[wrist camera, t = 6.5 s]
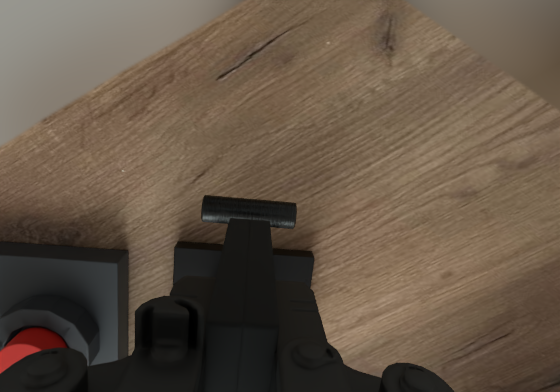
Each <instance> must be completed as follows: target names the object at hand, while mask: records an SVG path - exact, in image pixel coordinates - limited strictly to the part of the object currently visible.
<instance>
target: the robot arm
mask: <svg viewBox="0 0 560 392" xmlns="http://www.w3.org/2000/svg"><path fill="white" fill-rule="evenodd" d="M318 311H319V310H318V307H317V304H316V300H315V296H314V292H313V291H312V290H311V289H310V288H309V287H308V286H307V285H306V284H305V283H304V282H294V281H279V280H275V272H274V261H273V251H272V240H271V229H270V221H263V220H251V219H239V218H230V219H229V223H228V228H227V232H226V236H225V241H224V245H223V249H222V253H221V258H220V262H219V266H218V271H217V275H216V277H201V276H186V275H185V276H184V277H183V278H181V279H180V280H179V281H177V282H176V283H175V284H174V286H173V288H172V290H171V292H170V296H163V297H159V298H155V299H151V300H149V301H147V302H145V303H143V304H142V305H141V306H140V307H139V308H138V309H137V310H136V311H135V349H134V351H133V353H132V355H130V356H128V357H126V358H123V359H120V360H116V361H112V362H108V363H102V364H96V365H91V366H88V364H87V359H86V357H85V356H84V354H83V353H82V352H80V351H77V350H75V349H73V348H61V347H58V348H51V349H45V350H41V351H38V352H35V353H33V354H30V355H27V356H25V357H24V358H22V359H20V360H19V361H17V362H15V363H14V364H12V365H11V366H10V367H8V368H7V369H6V370H4V371H3V372H2V373H1V374H0V392H454V391H453V390H452V388H451V387H450V386H449V385H448V384H447V383H446V382H445V381H444V380H442V379H441V378H440V377H439V376H437V375H436V374H435V373H433V372H431V371H429V370H428V369H426V368H424V367H422V366H418V365H414V364H411V363H395V364H392V365H389V366H388V367H387V368H386V369H385V370H384V371H383V374H382V378H380V377H376V376H373V375H369V374H366V373H362V372H359V371H357V370H354V369H352V368H350V367H348V366H346V365H345V364H343V360H342V358H341V356H340V354H339V353H338V351H337V350H336V349H335V348H334V347H333V346H331V345H330V344H329V343H328V342H327V339H326V335H325V332H324V328H323V324H322V321H321V317H320V314H319V313H318Z"/></svg>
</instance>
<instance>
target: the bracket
mask: <svg viewBox="0 0 560 392" xmlns="http://www.w3.org/2000/svg"><path fill="white" fill-rule="evenodd" d="M222 249H223V245H220V244H206V243H193V242H179V241H178V242H177V244H176V246H175V248H174V275H173V286H174V284H175V283H176V282H177V281H179V280H180V279H181V278H183V277H184V276H185V275H186V276H201V277H216V275H217V271H218V266H219V262H220V258H221V253H222ZM272 251H273V261H274V272H275V280H279V281H294V282H304V283H305V284H306V285H307V286H308V287H309V288H310V287H311V280H312V272H313V265H314V255H313V253H312V251H300V250H287V249H273V248H272Z"/></svg>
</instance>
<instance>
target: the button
mask: <svg viewBox="0 0 560 392" xmlns="http://www.w3.org/2000/svg"><path fill="white" fill-rule="evenodd" d="M58 347H61V348H67V345H66V343H65V342H64V340H63V339H62V338H61V337H60V336H59V335H58V334H57V333H55V332H53V331H51V330H49V329H46V328H40V327H33V328H28V329H25V330H23V331H21V332H20V333H18V334H17V335H16V336H15V337H14V338H13V339H12V340H11V341H10V342H9V343H8V344H7V345H6V346H5V347H4V348H3V349H2V350H1V351H0V374H1V373H2V372H3V371H4V370H6V369H7V368H8V367H10V366H11V365H12V364H14V363H15V362H17V361H19V360H20V359H22V358H24V357H25V356H27V355H30V354H33V353H35V352H38V351H41V350H45V349H51V348H58Z"/></svg>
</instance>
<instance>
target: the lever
mask: <svg viewBox="0 0 560 392" xmlns="http://www.w3.org/2000/svg"><path fill="white" fill-rule="evenodd" d="M296 214H297V207H296V203H292V202H280V201H268V200H257V199H245V198H233V197H222V196H210V195H205V196H204V198H203V202H202V211H201V219H202V221H203V222H213V223H225V224H228V223H229V219H230V218H239V219H251V220H263V221H270V227H276V228H288V229H293V228H294V227H295V223H296Z"/></svg>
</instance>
